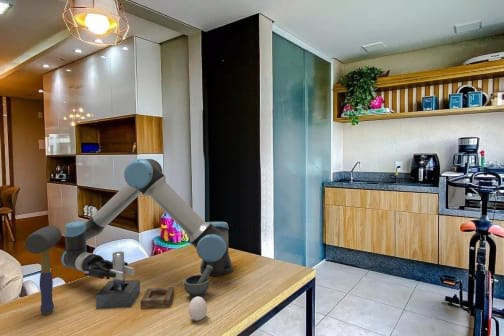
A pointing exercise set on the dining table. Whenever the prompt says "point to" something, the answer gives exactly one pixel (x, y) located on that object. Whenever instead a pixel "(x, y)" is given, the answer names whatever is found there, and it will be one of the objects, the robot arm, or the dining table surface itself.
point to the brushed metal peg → (119, 266)
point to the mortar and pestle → (198, 284)
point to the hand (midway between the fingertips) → (128, 274)
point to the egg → (197, 308)
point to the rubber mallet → (44, 261)
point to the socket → (118, 295)
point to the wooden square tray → (157, 298)
